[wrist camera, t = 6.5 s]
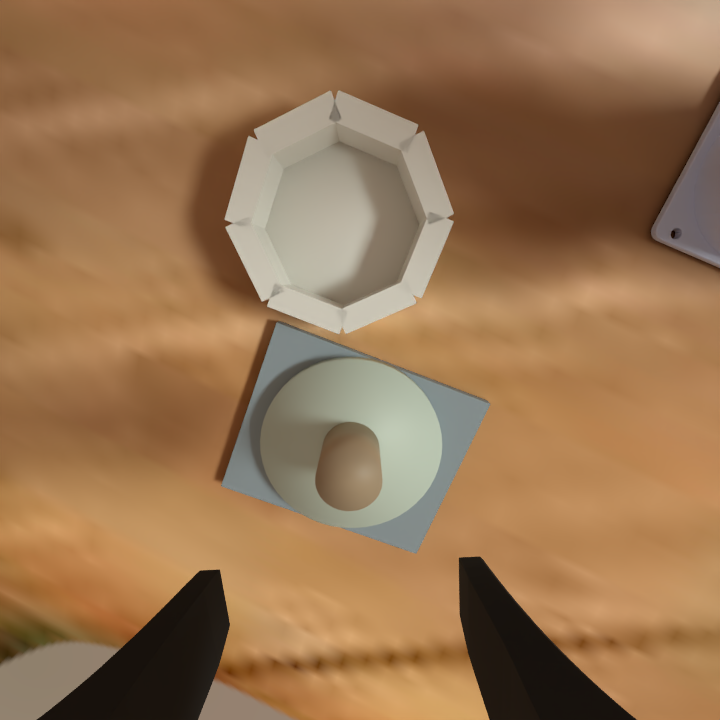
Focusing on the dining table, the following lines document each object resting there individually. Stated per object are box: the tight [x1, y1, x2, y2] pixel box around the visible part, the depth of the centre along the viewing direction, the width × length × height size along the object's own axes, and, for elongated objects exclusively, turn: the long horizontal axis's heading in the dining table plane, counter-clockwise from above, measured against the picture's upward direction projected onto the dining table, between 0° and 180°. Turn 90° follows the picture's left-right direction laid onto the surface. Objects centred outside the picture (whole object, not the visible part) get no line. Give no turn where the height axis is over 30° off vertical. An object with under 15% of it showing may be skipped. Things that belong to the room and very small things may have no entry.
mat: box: [221, 321, 490, 553], centre depth 21 cm, size 12×10×1 cm
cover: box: [260, 357, 442, 528], centre depth 19 cm, size 10×10×4 cm
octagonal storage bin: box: [224, 90, 454, 334], centre depth 17 cm, size 9×9×3 cm
